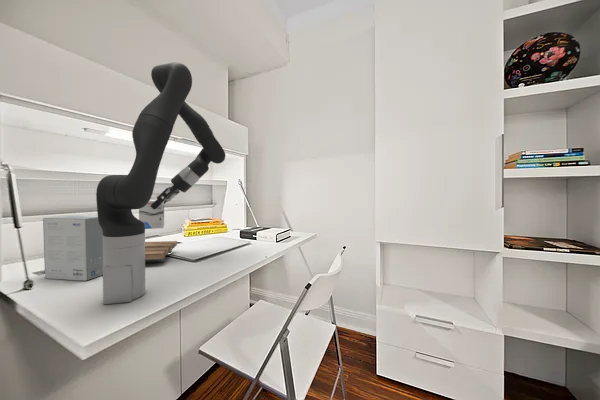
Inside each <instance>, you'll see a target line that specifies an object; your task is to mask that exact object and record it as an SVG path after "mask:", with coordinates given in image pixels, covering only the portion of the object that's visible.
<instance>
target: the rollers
mask: <svg viewBox="0 0 600 400" xmlns="http://www.w3.org/2000/svg"><path fill="white" fill-rule="evenodd" d="M171 252H172V253H173V249H172V250H171V251H170V252H169V253H171ZM165 261H166V256H164V257H163V258H162V259H145V264H149V263H150V264H151V263H164V262H165Z"/></svg>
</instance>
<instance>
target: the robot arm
mask: <svg viewBox="0 0 600 400" xmlns="http://www.w3.org/2000/svg"><path fill="white" fill-rule="evenodd" d="M150 75H151V76H150V77H151V80H152V82H153V84H154V86H155V87H156V89H157V91H158V92H159V94H158V95H156V97H154V99H152V100H151V101H150V102H149V103H148V104H147V105H146V106H144V108H143V109H142V110H141V112H140V113H139V115H138V117H137V119H136V121H135V123H134V126H133V128H132V132H131V134H132V141H133V145H134V148H135V158H134V162H133V164H132V166H131V168H130V170H129V172H128V174H110V175H106V176H104V177H102V178H101V180H100V181H99V182H98V184H97V187H96V192H95V194H96V196H95V198H96V210H97V211H96V213H97V216H98V222H99V225H100V227H101V228H102V232H103V275H102V296H103V297H102V301H103V302H102V303H103V305H110V304H112V305H113V304H120V303H121V304H123V303H131V302H132V301H134V300H136V299H138V298H140V297H143V296H144V295H145V293H146V291H147V290H146V263H145V242H146V229H145V224H144V223H143V222H142V221H140V220H139V218H137V217H136V216H135V215H134V214H133V212H132V210H139V209H140V208H143V207H144V206H145V205H147V203H148V202H149V200H150V198H151V197H153V195H152V193H154V190H155V184H156V180H157V176H158V172H159V168H160V165H161V162H162V159H163V155H164V153H165V150H166V147H167V144H168V143H169V140H170V138H171V135H172V132H173V130H174V127H175V124H176V120H177V119H178V116H179V117H180V118H181V119H182V120H183V121H184V123H185V124H186V125H187V127H188V129H189V130H190V132H191V133H192V135H193V137H194V138H195V140H196V141H197V142H198V144H199V145H200V146H201V147H202V148H201V150H200V151H199V153H198V154H197V156H196V157H195V159H193V160H192V161H191V162H190V163H189V164H188V165H187V166H185V167H184V168H182V169H181V170H180V171H179V172H178V173H177V174H176V175H174V177H172V178H171V180H170V182H171V184H172V185H171V186H168V187H166V188H165V189H164V190H163V191H161V192H160V193H161V194H160V195H159V196H158V197H157V200H156V201H155V202H154V203H153V204H152V205H151V207H152V208H153V209H156V208H157V207H158V206H159V205H161V204H162V203H163V202H164V205H166V204H167V203H169V202H170V201H171V200H174V198H175V197H176V196H177V195H179V194H180V193H181V192H182V193H186V192H187V191H189V190H190V189H191V188H192V187H193V186H194V185H195V184H196V183H197V182H198V181H199V180H200V179H201V178H202V177H203V176H204V175H205V174H207V173H208V171H209V164H210V163H211V162H212V163H214V164H218V165H219V164H221V163H224V161H225V160H226V151H225V150H224V148H223V147H222V145H221V143H220V142H219V141H218V139H217V138H216V136H215V134H214V132H213V131H212V129H211V127H210V125H209V124H208V122H207V121H206V119H205V118H204V117H203V116H202V115H201V114H199V113H198V112H197V111H196V110H195V109H194V108H192V107H191V106H190V105H189V104H188V103H187V102H186V101H185V100H186V99H187V97H189V96H188V95H189V94H190V92H191V90H192V86H193V77H192V73H191V71H190V69H189V68H188V67H187V65H185V64H184V63H181V62H169V63H164V64H159V65H155V66H153V67H152V69H151V72H150ZM161 197H163V199H162V198H161Z"/></svg>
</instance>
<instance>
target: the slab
mask: <svg viewBox="0 0 600 400" xmlns="http://www.w3.org/2000/svg"><path fill="white" fill-rule="evenodd" d="M177 246H178V240H169V241H168V240H165V241H145V259H162V258H163V257H164V256H165V257H166V256H168V255H167V254H168V253H169V252H170V251H171V250H172V251H173V249H175V248H176V247H177Z"/></svg>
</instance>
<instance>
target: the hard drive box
mask: <svg viewBox="0 0 600 400" xmlns="http://www.w3.org/2000/svg"><path fill="white" fill-rule="evenodd" d="M42 222H43V223H42V225H43V226H42V228H43V230H42V231H43V260H44V279H48V280H49V279H50V280H68V281H69V280H70V281H84V282H86V281H90V280H92V279H95V278H97V277H100V276H103V232H102V228H101V227H100V225H99V222H98V215H61V216H60V215H59V216H50V217H43V219H42Z"/></svg>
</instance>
